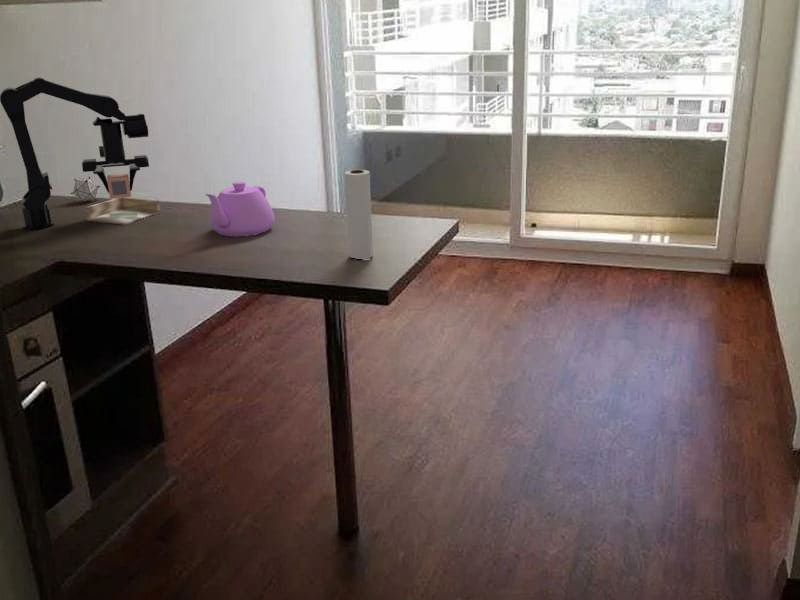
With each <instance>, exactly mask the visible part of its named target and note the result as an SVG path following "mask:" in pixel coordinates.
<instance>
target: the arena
mask: <svg viewBox="0 0 800 600" xmlns="http://www.w3.org/2000/svg"><path fill="white" fill-rule="evenodd" d="M84 213H85V218H86V221H89V222H96V223H97V222H98V223H105V224H115V225H124V226H126V225H128V224H131V223H134V222H138V221H141V220H143V218H144V219H146V217H147V218H150V217H153V216H156V215H159V214H161V207H160V201H159V200H158V199H148V198H139V197H123V198H111V199H109V200H106V201H102V202H98V203H95V204H92V205H87V206H85V207H84ZM152 215H153V216H152ZM149 216H150V217H149ZM140 219H141V220H140ZM137 220H138V221H137Z"/></svg>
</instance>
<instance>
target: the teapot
mask: <svg viewBox="0 0 800 600" xmlns="http://www.w3.org/2000/svg"><path fill="white" fill-rule="evenodd" d="M266 195H267V193H266V191H265V188H263V186H260V185H255V186H246V182H245V181H234V182H233V183H232V187H228V188H225V189H222V190H220V192H219V193H218V195H215V194H211V193H209V194H208V193H205V196H207V197H208V198H209V201H210V205H211V207H210V208H211V209H210V211H211V213H210V217H209V218H210V219H209V222H210V227H211V228H212V229H213V230H214V232H216V233H217V234H218V235H219V234H221V235H220V236H222V235H225V236H224V237H227V236H246V235H254V234H258V233H262V232H265V231H267V230H268V231H269V230H270V229H271V228H272V226H273V225H274V223H275V220H276V219H275V214H274V211H273V208H272V205H271V204H270V202H269V200H268V199H267V198H266ZM268 231H267V232H268ZM265 233H266V232H265ZM262 234H263V233H262ZM258 235H259V234H258ZM254 236H255V235H254ZM246 237H247V236H246Z"/></svg>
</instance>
